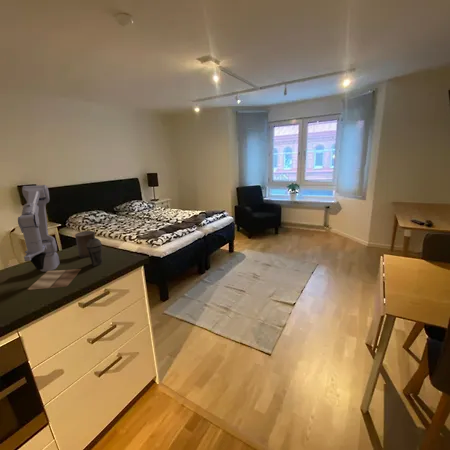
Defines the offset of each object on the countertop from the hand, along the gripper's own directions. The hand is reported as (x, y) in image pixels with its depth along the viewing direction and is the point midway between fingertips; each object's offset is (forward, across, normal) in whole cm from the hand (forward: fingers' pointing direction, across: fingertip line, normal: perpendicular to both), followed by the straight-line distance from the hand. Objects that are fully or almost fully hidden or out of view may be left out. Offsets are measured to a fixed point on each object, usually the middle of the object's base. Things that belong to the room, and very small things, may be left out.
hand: (40, 269), depth 113 cm
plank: (+7, -2, +1) cm, 7 cm away
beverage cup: (+8, -16, +19) cm, 26 cm away
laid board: (+7, -2, +10) cm, 12 cm away
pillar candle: (+8, -33, +9) cm, 35 cm away
